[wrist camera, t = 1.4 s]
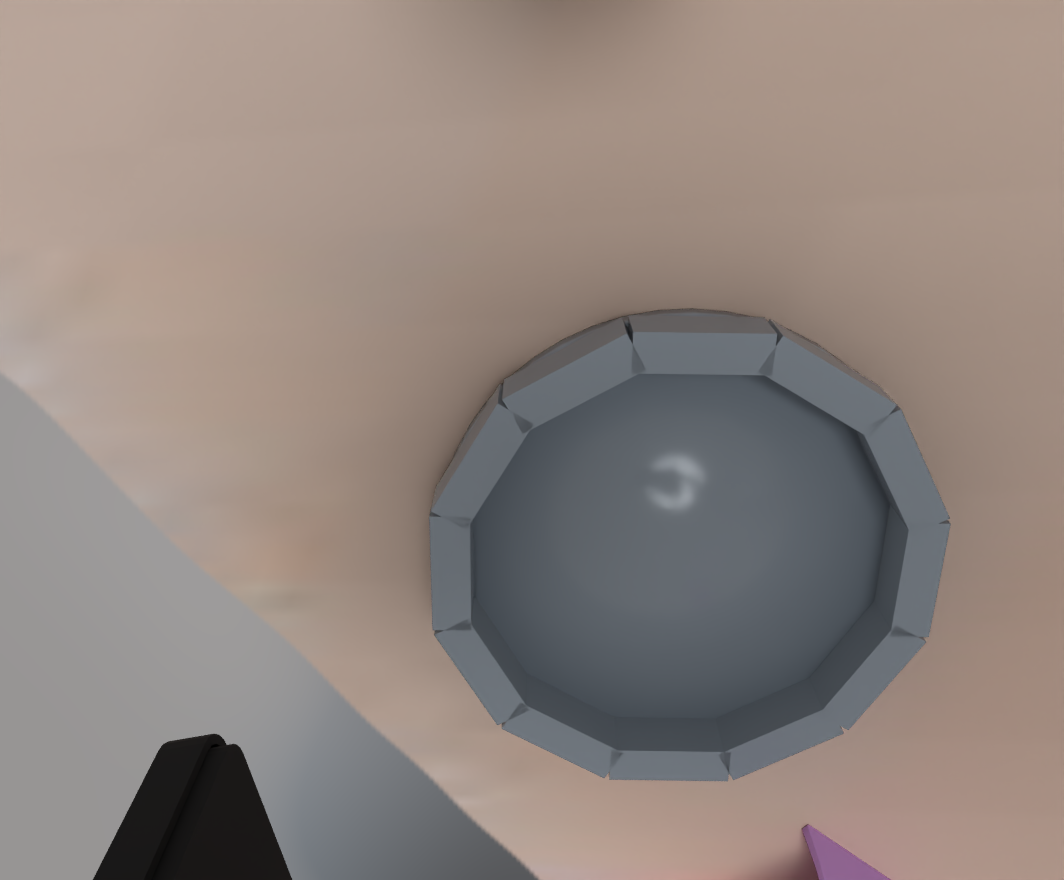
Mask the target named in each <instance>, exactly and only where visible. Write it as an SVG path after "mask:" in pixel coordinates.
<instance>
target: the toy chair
mask: <svg viewBox="0 0 1064 880" xmlns="http://www.w3.org/2000/svg"><path fill="white" fill-rule="evenodd" d="M802 830H803V834H804V837H805V839H806V842H807V845H808V847H809V850H810V853H811V856H812V859H813V862H814V865H815V868H816V871H817V874H818V878H819V880H890V879H889V878H887V877H886V876H884V875H883V874H881V873H880V872H878V871H877V870H875V869H874V868H872V867H871V866H870V865H868V864H867V863H865V862H864V861H862V860H861V859H859V858H858V857H856V856H855V855H853V854H852V853H850V852H849V851H847V850H846V849H844V848H843V847H841V846H840V845H838V844H837V843H835V842H834V841H832V840H831V839H829V838H828V837H827V836H825V835H824V834H822V833H821V832H819V831H818V830H816V829H815V828H813V827H812V826H810V825H807V826H805V827H804V828H803V829H802Z"/></svg>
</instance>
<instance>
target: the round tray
mask: <svg viewBox="0 0 1064 880" xmlns="http://www.w3.org/2000/svg"><path fill="white" fill-rule="evenodd" d="M948 519H950V517H949V515H948V513H947V511H946V508H945V506H944V504H943V502H942V500H941V497H940V495H939V493H938V491H937V488H936V486H935V484H934V482H933V479H932V477H931V475H930V473H929V471H928V468H927V466H926V464H925V462H924V459H923V457H922V455H921V453H920V451H919V448H918V446H917V444H916V442H915V439H914V437H913V435H912V433H911V430H910V428H909V426H908V424H907V422H906V419H905V417H904V415H903V413H902V410H901V409H900V408H899V407H898V406H897V404H896V403H895V402H894V401H893V400H892V399H891V398H890V397H889V396H888V395H887V394H886V393H885V392H884V391H883V390H882V389H881V388H880V386H879V385H877V384H876V383H874V382H873V381H871V380H869V379H868V378H866V377H864V376H863V375H861V374H859V373H858V372H856V371H855V370H853V369H851V368H850V367H848V366H846V365H845V364H844V363H843V362H842V361H841V360H839V359H838V358H836V357H835V356H834V355H832V354H831V353H829V352H828V351H827V350H825V349H824V348H822V347H821V346H820V345H818V344H817V343H815V342H813V341H811V340H809V339H807V338H805V337H803V336H801V335H799V334H797V333H795V332H794V331H792V330H790V329H787V328H784V327H783V326H781V325H779V324H778V323H776V322H774V321H773V320H771V319H770V320H769V321H767V320H766V319H765V318H764V317H750V316H746V315H741V314H736V313H732V312H727V311H716V310H704V309H674V310H657V311H651V312H645V313H640V314H634V315H628V316H624V317H620V318H617V319H614V320H611V321H607V322H604V323H601V324H598V325H595V326H592V327H589V328H587V329H585V330H583V331H581V332H578V333H576V334H574V335H572V336H570V337H567V338H565V339H563V340H561V341H559V342H558V343H556V344H555V345H553V346H551V347H550V348H548V349H546V350H545V351H543V352H542V353H540V354H538V355H537V356H535V357H534V358H532V359H531V360H530V361H529V362H527V363H526V364H525V365H524V366H523V367H521V368H520V369H519V370H518V371H516V372H515V373H514V374H513V375H511V376H510V377H508V378H506V379H504V383H503V384H502V385H501V384H499V385H498V387H497V389H496V390H495V392H494V394H493V395H492V396H491V397H490V398H489V399H488V400H487V401H486V403H485V404H484V406H483V407H482V408H481V410H480V411H479V413H478V414H477V415H476V417H475V418H474V420H473V421H472V422H471V424H470V425H469V427H468V429H467V431H466V433H465V435H464V436H463V438H462V440H461V442H460V444H459V446H458V448H457V450H456V452H455V454H454V457H453V460H452V462H451V463H450V465H449V467H448V468H447V470H446V472H445V473H444V475H443V476H442V478H441V480H440V481H439V483H438V485H437V486H436V490H435V493H434V498H433V502H432V507H431V511H430V516H429V524H430V558H431V592H432V626H433V630H435V634H434V635H435V637H436V638H437V640H438V641H439V642H440V644H441V645H442V647H443V648H444V650H445V651H446V652H447V654H448V655H449V657H450V658H451V660H452V661H453V662H454V664H455V665H456V667H457V668H458V670H459V671H460V672H461V674H462V675H463V677H464V678H465V680H466V681H467V682H468V684H469V685H470V687H471V688H472V689H473V691H474V692H475V694H476V695H477V697H478V698H479V699H480V701H481V702H482V704H483V705H484V707H485V708H486V709H487V711H488V712H489V714H490V715H491V717H492V718H493V719H494V721H495V722H496V724H497V725H499V724H501V723H502V729H503V730H506V731H508V732H510V733H512V734H514V735H516V736H518V737H520V738H522V739H524V740H526V741H528V742H530V743H532V744H534V745H536V746H539V747H541V748H543V749H545V750H547V751H549V752H551V753H553V754H555V755H557V756H559V757H561V758H563V759H565V760H567V761H569V762H572V763H574V764H576V765H578V766H580V767H582V768H584V769H586V770H588V771H590V772H592V773H594V774H596V775H598V776H600V777H603V778H605V777H606V775H607V774H608V773H609V780H681V781H728V775H729V774H730V775H731V777H732V779H733V780H735V779H737V778H739V777H742V776H744V775H747V774H749V773H751V772H754V771H756V770H758V769H761V768H763V767H765V766H768V765H770V764H773V763H775V762H777V761H780V760H782V759H784V758H787V757H789V756H791V755H794V754H796V753H799V752H801V751H803V750H806V749H808V748H810V747H813V746H815V745H817V744H820V743H822V742H825V741H827V740H829V739H832V738H834V737H836V736H839V735H841V734H843V730H842V728H841V727H843V728H845V729H847V730H849V729H850V728H851V727H852V725H853V724H854V723H855V722H856V721H857V720H858V719H859V717H860V716H861V715H862V714H863V713H864V712H865V711H866V710H867V708H868V707H869V706H870V705H871V704H872V703H873V702H874V700H875V699H876V698H877V697H878V696H879V695H880V694H881V693H882V691H883V690H884V689H885V688H886V687H887V686H888V685H889V683H890V682H891V681H892V680H893V679H894V678H895V677H896V676H897V674H898V673H899V672H900V671H901V670H902V669H903V668H904V666H905V665H906V664H907V663H908V662H909V661H910V660H911V659H912V657H913V656H914V655H915V654H916V653H917V652H918V651H919V649H920V648H921V647H922V646H923V645H924V644H925V643H926V641H925V639H924V638H923V637H929V633H930V628H931V622H932V617H933V612H934V607H935V602H936V597H937V591H938V586H939V581H940V576H941V571H942V566H943V560H944V555H945V550H946V545H947V540H948V534H949V529H950V523H949V521H948Z"/></svg>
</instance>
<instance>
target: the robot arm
mask: <svg viewBox="0 0 1064 880" xmlns="http://www.w3.org/2000/svg"><path fill="white" fill-rule="evenodd" d="M93 880H292V878H291V876H290V873H289V871H288V868H287V865H286V863H285V860H284V858H283V855H282V852H281V850H280V847H279V845H278V842H277V839H276V837H275V834H274V832H273V829H272V826H271V824H270V822H269V819H268V816H267V814H266V811H265V808H264V806H263V803H262V801H261V798H260V796H259V793H258V790H257V788H256V785H255V783H254V780H253V777H252V775H251V772H250V770H249V767H248V764H247V762H246V759H245V757H244V754H243V752H242V750H241V748H240V747H239V746H238V745H236V744H231V745H226V743H225V741H224V739H223V738H222V737H221V736H220V735H217V734H210V735H204V736H198V737H192V738H186V739H180V740H175V741H169V742H167V743H165V744H163V745H162V747H161V748H160V749H159V751H158V753H157V755H156V757H155V759H154V761H153V762H152V764H151V766H150V769H149V770H148V773H147V774H146V776H145V778H144V780H143V782H142V785H141V786H140V788H139V790H138V792H137V794H136V796H135V798H134V800H133V802H132V804H131V806H130V808H129V810H128V812H127V814H126V816H125V818H124V820H123V822H122V824H121V825H120V827H119V829H118V831H117V833H116V835H115V837H114V839H113V841H112V843H111V845H110V847H109V849H108V851H107V853H106V855H105V857H104V859H103V861H102V863H101V865H100V867H99V869H98V871H97V873H96V875H95V877H94V879H93Z"/></svg>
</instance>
